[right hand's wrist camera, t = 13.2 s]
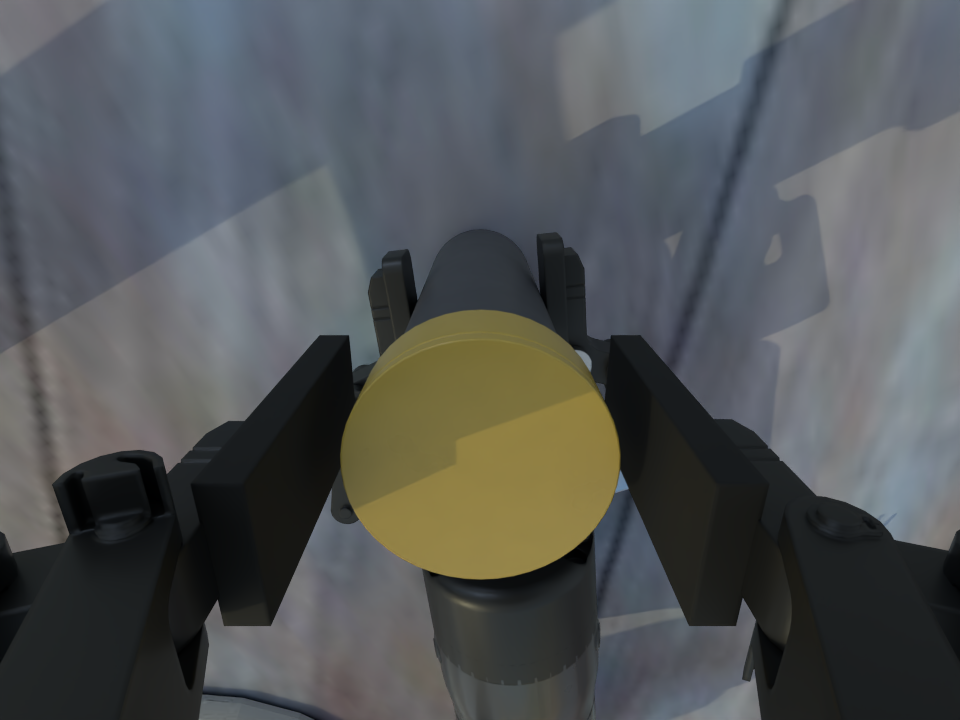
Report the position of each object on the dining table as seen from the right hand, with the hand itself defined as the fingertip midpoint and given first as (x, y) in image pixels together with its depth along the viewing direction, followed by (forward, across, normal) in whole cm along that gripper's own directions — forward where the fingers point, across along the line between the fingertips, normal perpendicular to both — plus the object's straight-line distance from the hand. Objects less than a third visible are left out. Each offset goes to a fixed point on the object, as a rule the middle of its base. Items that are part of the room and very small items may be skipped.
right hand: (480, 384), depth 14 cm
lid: (-4, 0, 0) cm, 4 cm away
